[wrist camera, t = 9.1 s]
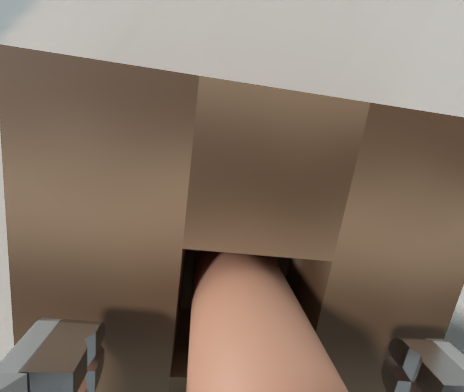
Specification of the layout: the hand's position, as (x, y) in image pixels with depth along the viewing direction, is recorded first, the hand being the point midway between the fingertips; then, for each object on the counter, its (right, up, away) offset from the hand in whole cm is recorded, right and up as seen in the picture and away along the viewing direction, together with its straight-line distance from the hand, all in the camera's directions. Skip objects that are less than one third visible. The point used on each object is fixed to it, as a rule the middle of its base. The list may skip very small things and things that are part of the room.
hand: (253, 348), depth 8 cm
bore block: (-1, +1, +6) cm, 6 cm away
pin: (-1, +1, +4) cm, 5 cm away
